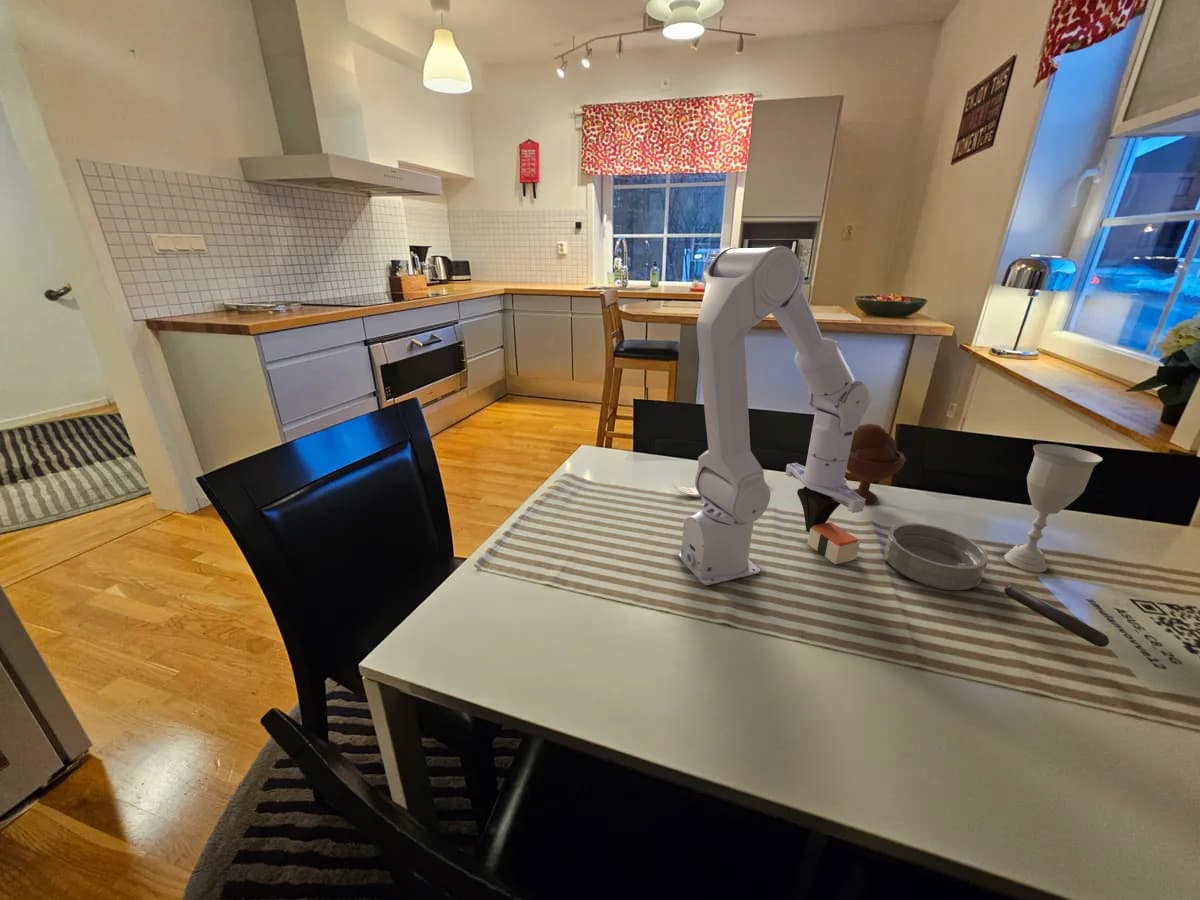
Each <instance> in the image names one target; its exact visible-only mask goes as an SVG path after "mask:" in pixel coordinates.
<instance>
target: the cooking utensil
mask: <svg viewBox="0 0 1200 900" xmlns="http://www.w3.org/2000/svg"><path fill="white" fill-rule="evenodd" d="M765 482H766V481H765ZM766 484H767V485H768V483H767V482H766ZM671 486H673V488H675V490H677V492H680V493H682V494H684V495H685V496H686V495H687V496H690V497H702V495H700V494H699V493H698V492H697V490H696V487H695V486H693V487H685V486H680V485H676V484H673V483H671Z"/></svg>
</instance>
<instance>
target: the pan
mask: <svg viewBox="0 0 1200 900" xmlns="http://www.w3.org/2000/svg"><path fill="white" fill-rule="evenodd" d="M883 556H884V558H885V560H886V562H887V563H888V564H889V565H890V566H891V567H892V568H893V569H894V570H896V571H897V572H898V573H900V574H901V575H903V576H904V577H906V578H908V579H910V580H912V581H914V582H916V583H919V584H921V585H925V586H928V587H930V588H935V589H939V590H946V591H947V590H948V591H963V590H964V591H965V590H969V589H972V588H973V589H974V588H976V587H977V586H979V584H980V583H981V582H982V579H983V577H984V574H985V571H986V568H987V565H988V562H989V557H988V554H987V552H986V551H985V550H984V548H983V547H982V546H980V544H978V543H977V542H975V541H974V540H972V539H970V538H968V537H967V536H964V535H962V534H961V533H959V532H956V531H952V530H951V529H947V528H944V527H940V526H935V525H931V524H924V523H915V522H914V523H913V522H911V523H907V522H906V523H900V524H896V525H894V526H892V527H891V528H890V529H889V531H888V535H887V540H886V542H885V546H884V552H883Z"/></svg>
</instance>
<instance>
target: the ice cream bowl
mask: <svg viewBox="0 0 1200 900" xmlns="http://www.w3.org/2000/svg"><path fill="white" fill-rule="evenodd" d="M906 462H907V458H906V456H905V455H904V453H903V452H901V451H899V450H897V441H896V440H895V439H894V437H893V436H891V435H890V433H889V432H887V431H886V429H884V428H883V427H882V426H881V425H879V424H874V423H864V424H860V426H859V427H858V429H857V430H855V431H854V435H853V440H852V444H851V449H850V454H849V459H848V464H847V468H846V471H848V472H849V473H850V474H851V475H853V476H854V477H856V478H858V479H859V481H860V482H859V486H858V487H857V488H854V489H853V488H852V490H853V491H854V492H856V493H857V494H858V495H859V496H861V497H862V498H864V499H866V500H865V505H875V504H877V503H878V502H879V498H878V496H877V495H876V494H875V493H874V492H872V491H871V490H870V488H871V484H872V482H878V481H881V480H882V481H883V480H885V479H888V478H889V477H891V476H893V475H895V474H897V473H899V472H900V471H901V469H903V467H904V465H905V464H906Z"/></svg>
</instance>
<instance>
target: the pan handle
mask: <svg viewBox="0 0 1200 900" xmlns="http://www.w3.org/2000/svg"><path fill="white" fill-rule="evenodd" d="M1004 593H1005V595H1006V596H1007V597H1008V598H1010V599H1012V600H1013V601H1016V602H1018V603H1019V604H1021V605H1022V606H1024V607H1027V608H1028V609H1030V610H1031V611H1034V612H1035V613H1036V614H1039V615H1040V616H1042V617H1043V618H1045V619H1048V620H1049V621H1051V622H1053V623H1054V624H1057V625H1058V626H1060V627H1062V628H1063V629H1064V630H1065V629H1066V630H1067V631H1069V632H1070V633H1072V634H1074V635H1076V636H1077V637H1079V638H1081V639H1083V640H1084V641H1086V642H1088V643H1090V644H1092V645H1093V646H1096V647H1099V648H1103V647H1104V648H1105V647H1107V646H1108V645H1109V644H1110V638H1109V637H1108V636H1107V634H1105V633H1103V632H1102V631H1099V630H1098V629H1096V628H1094V627H1093V626H1090V625H1089V624H1088V623H1085V622H1083V621H1082V620H1079V619H1078V618H1076V617H1074V616H1072V615H1070V614H1068V613H1066V612H1064V611H1062V610H1061V609H1059V608H1057V607H1056V606H1053V605H1051V604H1050V603H1048V602H1046V601H1045V600H1042V599H1040V598H1038V596H1035V595H1034V594H1031V593H1029V592H1027V591H1026V590H1024V589H1022V588H1020V587H1018V586H1017V585H1013V584H1009V585H1007V586H1005V587H1004Z"/></svg>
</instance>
